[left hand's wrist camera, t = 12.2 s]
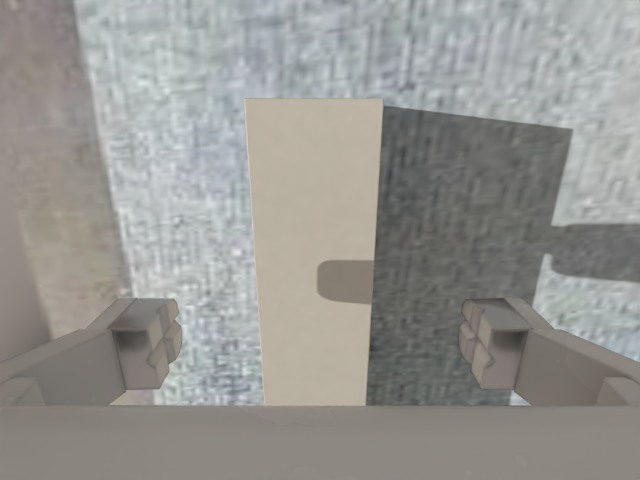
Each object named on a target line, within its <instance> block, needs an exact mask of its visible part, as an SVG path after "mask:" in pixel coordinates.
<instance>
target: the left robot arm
mask: <svg viewBox="0 0 640 480" xmlns="http://www.w3.org/2000/svg"><path fill="white" fill-rule="evenodd" d="M178 313H179V310H178V305H177V302H176V301H175V300H174V299H160V298H119V299H117V300H115V301H114V302H113V303H112V304H111V305H110V306H109V307H108V308H107V309H106V310H105V311H104V312H103V313H102V314H101V315H100V316H99V317H98V318H96V319H95V320H94V321H93V322H92V323H91V324H90V325H89V326H88V327H87V328H86V329H85V330H77V331H74V332H72V333H69V334H67V335H65V336H62V337H60V338H58V339H55V340H53V341H50V342H48V343H46V344H43V345H41V346H38V347H36V348H34V349H31V350H29V351H26V352H24V353H22V354H19V355H17V356H15V357H12V358H10V359H7V360H5V361H3V362H0V480H640V362H637V361H635V360H632V359H630V358H628V357H625V356H623V355H621V354H618V353H616V352H613V351H611V350H609V349H606V348H604V347H601V346H599V345H597V344H594V343H592V342H590V341H587V340H585V339H582V338H580V337H578V336H575V335H573V334H570V333H568V332H566V331H563V330H555V329H554V328H553V327H552V326H551V325H550V324H549V323H548V322H547V321H546V320H545V319H544V318H543V317H542V316H540V315H539V314H538V313H537V312H536V311H535V310H534V309H533V308H532V307H531V306H530V305H529V304H528V303H527V302H526V301H525V300H524V299H521V298H488V299H465V300H464V302H463V305H462V310H461V313H462V315H463V316H464V318H465V320H464V322H463V323H462V324H461V325H460V326H459V330H458V346H459V349H460V353H461V355H462V357H463V359H464V360H465V361H467V362H469V363H470V364H472V365H471V373H472V374H473V376H474V378H475V380H476V381H477V383H478V385H479V387H480V388H481V389H495V390H514V392H515V393H517V394H518V395H519V396H521V397H522V398H523V399H525V400H526V401H527V402H529V403H530V404H531V405H532V406H122V405H109V404H110V403H112V402H113V401H114V400H116V399H117V398H118V397H119V396H121V395H122V394H123V393H125V392H126V390H144V389H159V388H160V387H161V385H162V383H163V382H164V380H165V378H166V376H167V375H168V373H169V365H168V364H170V363H171V362H173V361H175V360H176V359H177V357H178V355H179V353H180V349H181V345H182V329H181V326H180V325H179V324H178V323H177V322H176V320H175V318H176V316H177V315H178Z"/></svg>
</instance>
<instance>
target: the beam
mask: <svg viewBox="0 0 640 480" xmlns="http://www.w3.org/2000/svg"><path fill="white" fill-rule="evenodd" d="M383 107H384V99H297V98H245V99H244V109H245V123H246V138H247V153H248V168H249V183H250V198H251V213H252V228H253V243H254V258H255V273H256V288H257V303H258V317H259V332H260V347H261V362H262V377H263V392H264V406H366V397H367V380H368V363H369V346H370V329H371V312H372V295H373V278H374V261H375V244H376V227H377V210H378V193H379V176H380V159H381V142H382V124H383Z"/></svg>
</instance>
